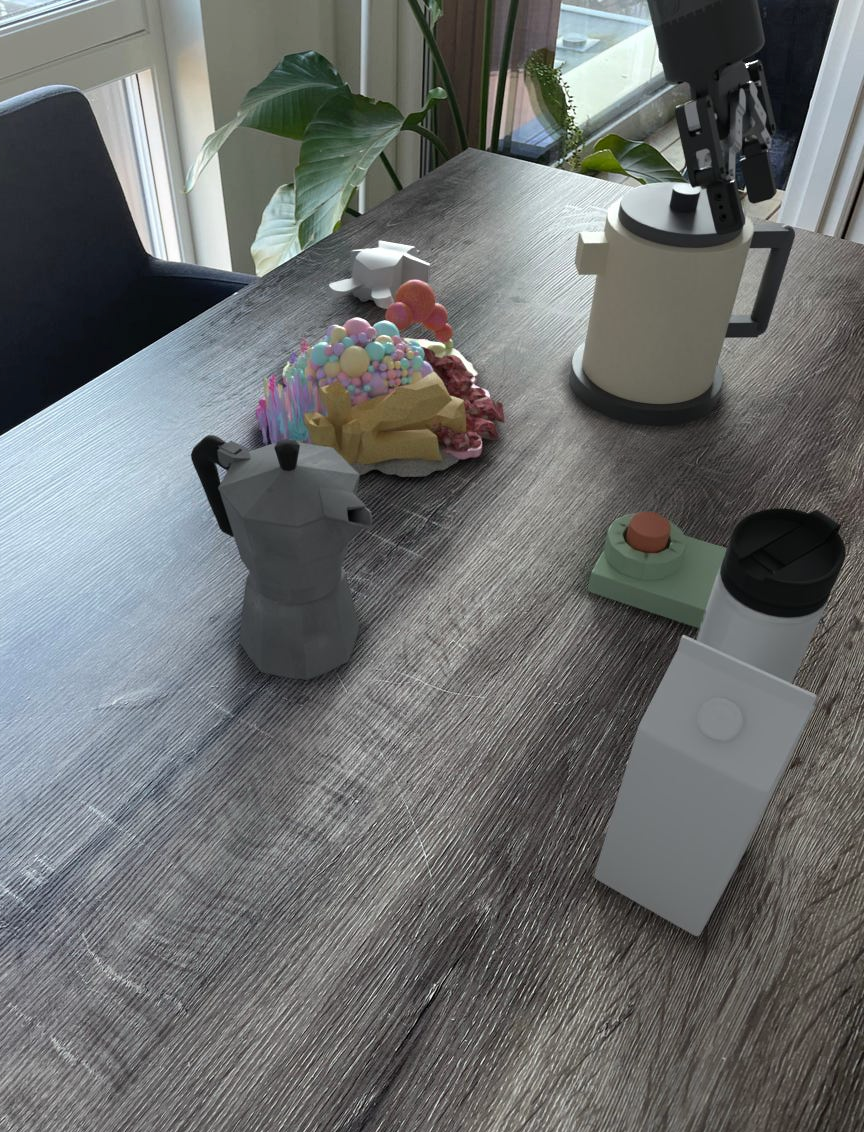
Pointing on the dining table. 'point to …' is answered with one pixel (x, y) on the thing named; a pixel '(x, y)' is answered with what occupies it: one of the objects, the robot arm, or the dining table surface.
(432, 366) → the pastel sphere sculpture
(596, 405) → the kettle
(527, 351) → the dining table surface
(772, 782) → the milk carton
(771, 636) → the travel mug
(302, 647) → the coffeepot
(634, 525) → the red button cap
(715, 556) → the button base
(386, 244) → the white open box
